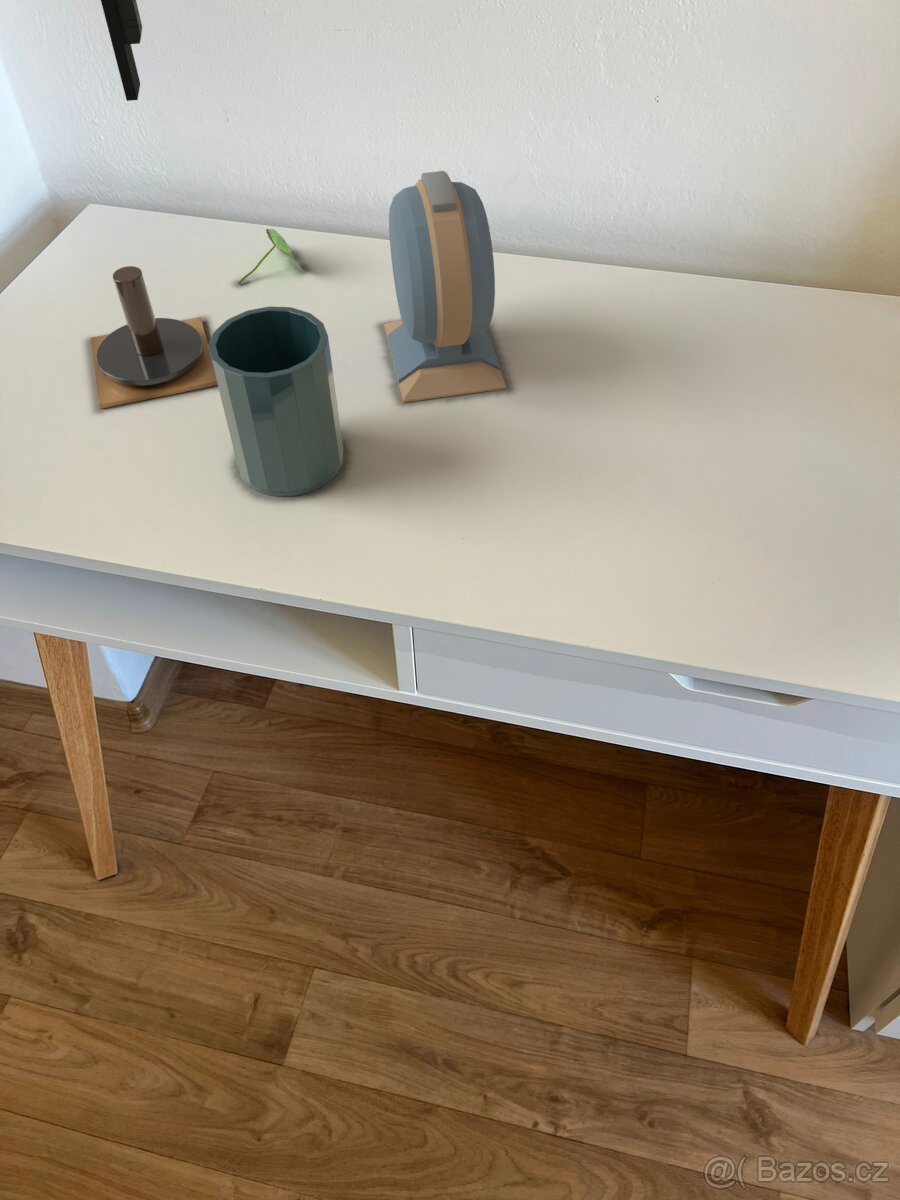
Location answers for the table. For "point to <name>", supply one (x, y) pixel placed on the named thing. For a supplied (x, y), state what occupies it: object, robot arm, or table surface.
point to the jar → (279, 399)
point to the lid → (146, 339)
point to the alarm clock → (442, 291)
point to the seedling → (278, 243)
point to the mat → (123, 394)
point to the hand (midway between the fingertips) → (35, 100)
